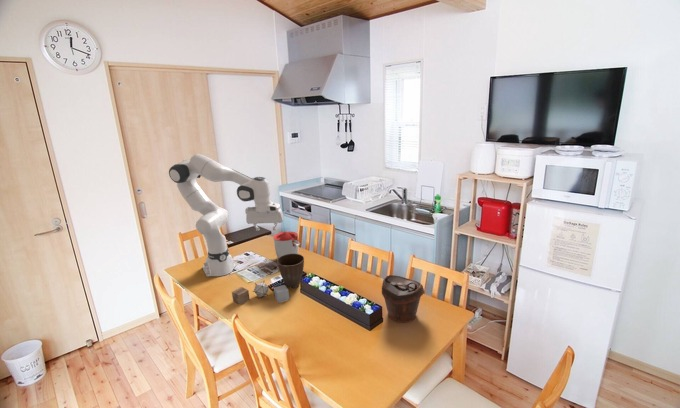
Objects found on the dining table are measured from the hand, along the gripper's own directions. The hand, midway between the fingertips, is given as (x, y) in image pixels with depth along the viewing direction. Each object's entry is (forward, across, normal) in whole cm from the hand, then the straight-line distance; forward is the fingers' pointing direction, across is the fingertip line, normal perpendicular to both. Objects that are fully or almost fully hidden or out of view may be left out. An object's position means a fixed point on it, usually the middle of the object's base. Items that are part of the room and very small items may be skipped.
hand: (266, 230), depth 186 cm
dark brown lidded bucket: (+32, +71, -35) cm, 85 cm away
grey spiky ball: (+31, -2, -17) cm, 36 cm away
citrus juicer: (+31, +5, +26) cm, 41 cm away
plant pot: (+31, +13, -6) cm, 35 cm away
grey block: (+31, +10, -20) cm, 38 cm away
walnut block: (+31, -11, -21) cm, 39 cm away
